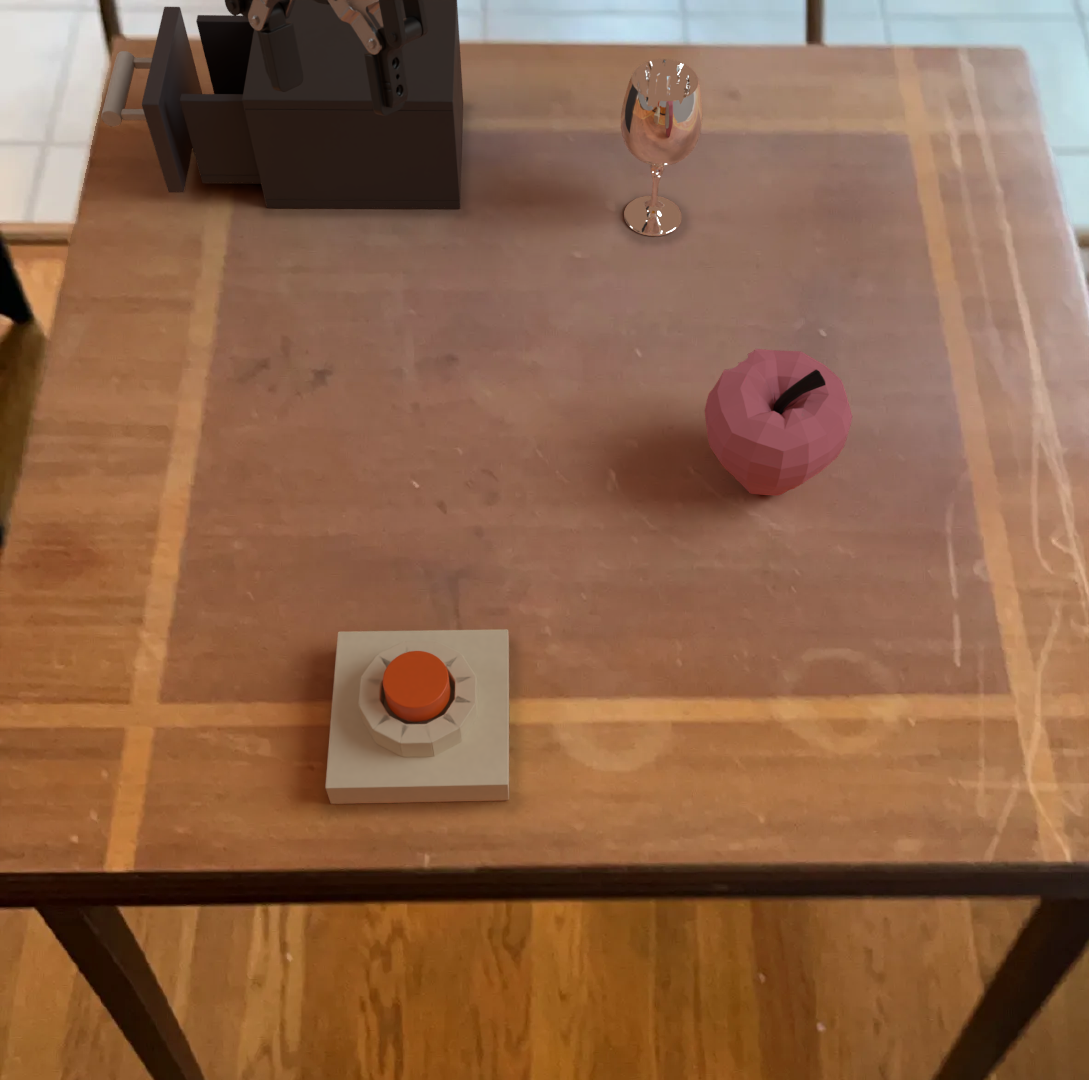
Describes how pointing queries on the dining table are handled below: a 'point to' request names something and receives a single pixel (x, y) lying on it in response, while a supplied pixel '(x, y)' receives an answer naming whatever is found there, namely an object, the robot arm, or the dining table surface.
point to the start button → (416, 686)
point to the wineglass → (660, 134)
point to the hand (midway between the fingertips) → (338, 99)
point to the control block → (427, 746)
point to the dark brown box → (359, 119)
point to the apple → (777, 420)
